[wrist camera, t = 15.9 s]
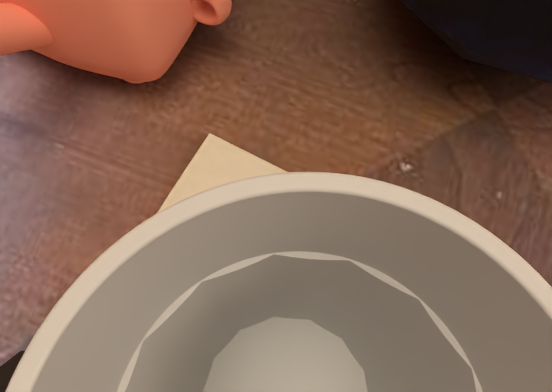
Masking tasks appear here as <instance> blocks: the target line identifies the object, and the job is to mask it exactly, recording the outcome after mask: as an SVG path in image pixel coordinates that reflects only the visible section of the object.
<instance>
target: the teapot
mask: <svg viewBox="0 0 552 392" xmlns="http://www.w3.org/2000/svg"><path fill="white" fill-rule="evenodd" d="M231 7H232V2H231V0H0V55H4V54H9V53H14V52H19V51H24V50H29V49H32V50H34V51H36V52H38V53H40V54H43V55H45V56H47V57H49V58H51V59H54V60H56V61H59V62H61V63H64V64H67V65H70V66H73V67H76V68H79V69H83V70H86V71H90V72H94V73H98V74H102V75H107V76H111V77H116V78H120V79H123V80H125V81H126V82H129V83H134V84H138V83H143V82H148V81H154V80H157V79H159V78H161V77H162V76H163V75H164V74H165V73H166V71H167V70H168V69H169V67H170V66H171V64H172V63H173V62H174V60H175V59H176V57H177V56H178V54H179V53H180V51H181V49H182V48H183V46H184V44H185V43H186V41H187V40H188V38H189V36H190V35H191V33H192V31H193V29H194V28H195V26H196V24H197V22H198V21H199V22H201V23H203V24H206V25H219V24H221V23H222V22H224V21H225V20H226V19H227V17H228V16H229V15H230V12H231Z"/></svg>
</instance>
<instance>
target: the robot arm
mask: <svg viewBox="0 0 552 392" xmlns="http://www.w3.org/2000/svg"><path fill="white" fill-rule="evenodd" d="M24 352H25V351H20V352H19V353H18V354H16V355H15V356H14V357H12V358H11V359H10V360H8V361H7V362H6V363H5V364H3V365H2V366H1V367H0V392H5V391H6V389H7V387H8V384H9V382H10V380H11V378H12V376H13V374H14V372H15V370H16V368H17V365H18V364H19V362H20V360H21V358H22V356H23V354H24Z"/></svg>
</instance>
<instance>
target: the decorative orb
mask: <svg viewBox="0 0 552 392" xmlns="http://www.w3.org/2000/svg"><path fill="white" fill-rule="evenodd" d="M400 1H401V2H402V3H403V4H404V5H405V6H406V7H407V8H408V9H409V10H411V11H412V12H413V13H414V14H415V15H416V16H417V17H418V18H419V19H420V20H421V21H422V22H423V23H424V24H426V25H427V26H428V27H429V28H430V29H431V30H432V31H433V32H434V33H435V34H436V35H437V36H438V37H439V38H440V39H442V40H443V41H444V42H445V43H446V44H447V45H448V46H449V47H450V48H451V49H452V50H453V51H454V52H455V53H457V54H458V55H459V56H460V57H461V58H462V59H464V60H468V61H472V62H476V63H479V64H483V65H487V66H491V67H494V68H498V69H502V70H506V71H510V72H513V73H517V74H521V75H525V76H528V77H532V78H536V79H540V80H543V81H547V82H551V83H552V0H400Z"/></svg>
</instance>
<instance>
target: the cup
mask: <svg viewBox="0 0 552 392" xmlns="http://www.w3.org/2000/svg"><path fill="white" fill-rule="evenodd" d="M5 392H552V287H551V286H550V285H549V284H548V283H547V282H546V281H545V280H544V279H543V277H542V276H541V275H540V274H539V273H538V272H537V271H536V270H534V269H533V268H532V267H531V266H530V265H529V264H528V263H527V262H526V261H525V260H524V259H523V258H522V257H521V256H519V255H518V254H517V253H516V252H515V251H514V250H512V249H511V248H510V247H509V246H508V245H506V244H505V243H504V242H503V241H501V240H500V239H499V238H497V237H496V236H495V235H493V234H492V233H491V232H489V231H488V230H486V229H485V228H483V227H482V226H480V225H479V224H477V223H476V222H474V221H473V220H471V219H469V218H468V217H466V216H464V215H462V214H461V213H459V212H457V211H456V210H454V209H452V208H450V207H448V206H446V205H444V204H442V203H440V202H438V201H436V200H433V199H431V198H429V197H426V196H424V195H422V194H419V193H417V192H414V191H411V190H408V189H406V188H403V187H400V186H397V185H393V184H390V183H386V182H383V181H379V180H374V179H370V178H365V177H360V176H353V175H347V174H338V173H327V172H289V173H277V174H269V175H262V176H256V177H251V178H246V179H242V180H238V181H234V182H230V183H226V184H223V185H220V186H217V187H214V188H211V189H208V190H205V191H203V192H200V193H197V194H195V195H193V196H190V197H188V198H186V199H184V200H182V201H180V202H177V203H175V204H173V205H171V206H169V207H168V208H166V209H164V210H162V211H160V212H159V213H157V214H155V215H154V216H152V217H150V218H149V219H147V220H145V221H144V222H142V223H141V224H139V225H138V226H136V227H135V228H134V229H132V230H131V231H129V232H128V233H127V234H125V235H124V236H123V237H121V238H120V239H119V240H118V241H116V242H115V243H114V244H113V245H112V246H110V247H109V248H108V249H107V250H106V251H105V252H103V253H102V254H101V255H100V256H99V257H98V258H97V259H96V260H95V261H94V262H93V263H92V264H91V265H90V266H89V267H88V268H87V269H86V270H85V271H84V272H83V273H82V274H81V275H80V276H79V277H78V278H77V279H76V280H75V282H74V283H73V284H72V285H71V286H70V287H69V288H68V290H67V291H66V292H65V293H64V294H63V296H62V297H61V298H60V300H59V301H58V302H57V303H56V305H55V306H54V307H53V309H52V310H51V311H50V313H49V314H48V316H47V317H46V319H45V320H44V321H43V323H42V324H41V326H40V327H39V329H38V331H37V332H36V334H35V335H34V337H33V339H32V340H31V342H30V344H29V345H28V347H27V349H26V351H25V352H24V354H23V356H22V358H21V360H20V362H19V364H18V365H17V368H16V370H15V372H14V374H13V376H12V378H11V380H10V382H9V384H8V387H7V389H6V391H5Z"/></svg>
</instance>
